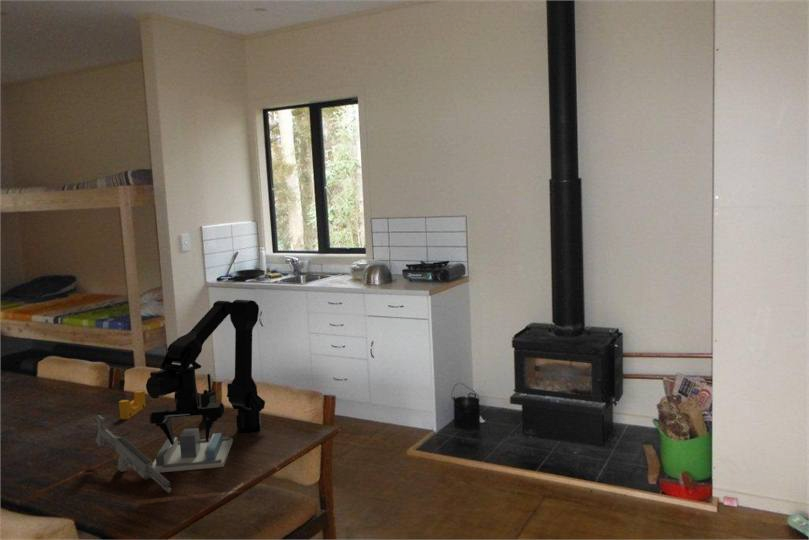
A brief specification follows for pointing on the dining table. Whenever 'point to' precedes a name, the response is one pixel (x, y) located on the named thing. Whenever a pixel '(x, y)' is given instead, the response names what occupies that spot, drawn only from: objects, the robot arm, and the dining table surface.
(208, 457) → the vise free jaw
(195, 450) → the steel block
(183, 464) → the vise bed
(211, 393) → the walkie-talkie
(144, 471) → the gun
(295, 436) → the dining table surface
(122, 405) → the pipe clamp
